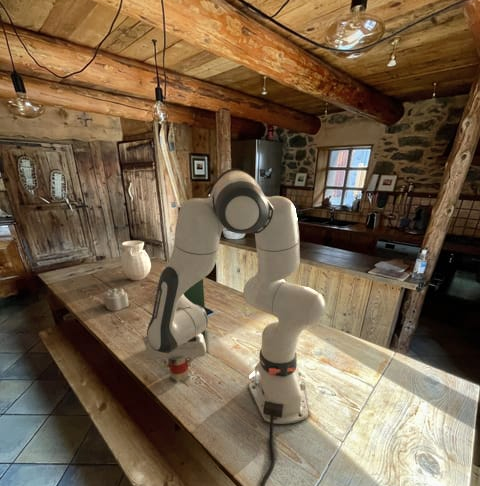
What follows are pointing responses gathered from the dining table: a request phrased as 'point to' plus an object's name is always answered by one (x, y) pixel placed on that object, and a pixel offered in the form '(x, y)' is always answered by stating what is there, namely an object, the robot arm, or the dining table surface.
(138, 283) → the dining table surface
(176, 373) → the can
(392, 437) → the dining table surface
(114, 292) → the lumpy-topped squat cylinder
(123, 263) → the pitcher
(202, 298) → the lid
